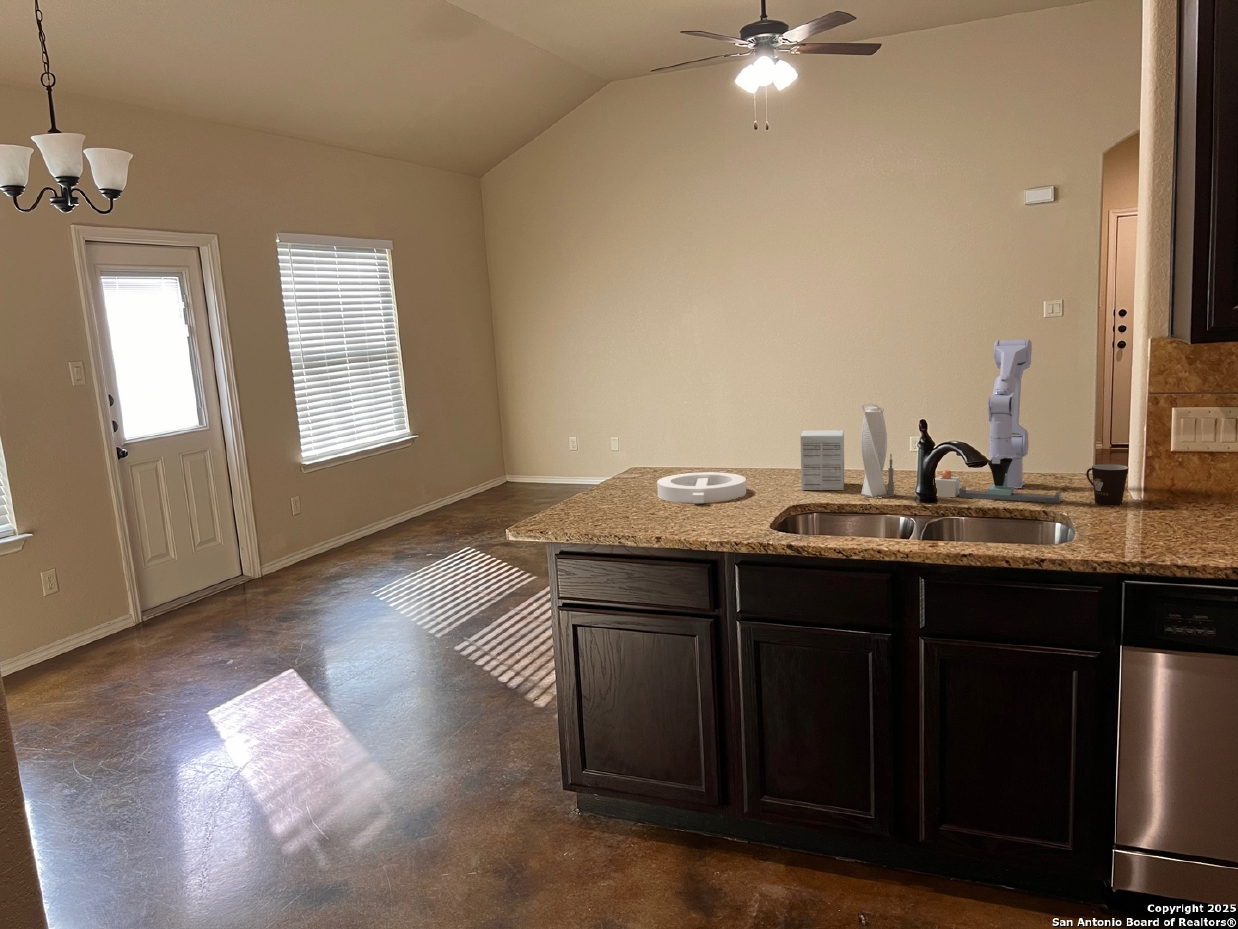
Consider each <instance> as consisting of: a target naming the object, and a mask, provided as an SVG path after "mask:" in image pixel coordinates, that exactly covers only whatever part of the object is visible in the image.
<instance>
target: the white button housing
mask: <svg viewBox="0 0 1238 929" xmlns="http://www.w3.org/2000/svg"><path fill="white" fill-rule="evenodd" d="M960 478H961V477H959V476H951V478H949V479H945V478H942V475H941V476H940V475H938V476H936V477H935V478H934V479H935V483H936V488H937V493H938V497H937V498H950V497H955V498H957V497H959V489H960V488H961V487H960Z"/></svg>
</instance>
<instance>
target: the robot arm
mask: <svg viewBox="0 0 1238 929" xmlns="http://www.w3.org/2000/svg"><path fill="white" fill-rule="evenodd" d="M993 345H994V346H993V357H994V361H995V365H996V366H997V369H1000V370H999V371H1000V372H999V375H998V376H997V377H996V378H995V380H994V382H993V383H994V384H993V389H992V394H991V396H989V397H988V399H987V400H988V402H987V411H988V421H989V452H988V456H989V457H990V458H991V459H990V460H989V459H988V460H987V465H988V466H989V468H990V471H991V475H992V481H993V485H995V486H1003V484H1004V479H1005V474H1008V482H1007V486H1013V487H1014V489H1018V488H1021V489H1023V487H1024V486H1025V485H1026V483H1027V482H1026V481H1023V470H1024V468H1023V466H1024V464H1023V463H1024V462H1023V460H1024V459H1023V458H1024V457H1026V456H1027V455H1028V453H1029V442H1030V441H1029V432H1028V430H1026V429H1025V428H1024V427H1023V426H1022V425H1020V410H1021V409H1020V407H1021V391H1022V378H1023V374H1024V371H1025V370H1028V369H1029V368H1030V367H1031V365H1032V364H1031V363H1032V351H1033V349H1032V347H1033V346H1032V345H1033V344H1032V340H1030V338H1027V339H1010V340H1009V339H1008V340H1007V339H1002V340H1000V339H997V340H996V341H995V342H994V344H993ZM1023 485H1024V486H1023ZM1022 486H1023V487H1022Z"/></svg>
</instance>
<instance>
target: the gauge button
mask: <svg viewBox="0 0 1238 929" xmlns="http://www.w3.org/2000/svg"><path fill="white" fill-rule="evenodd" d="M941 474H942V475H941V476H942V478H945V479H949V478H951V477H952V471H951V470H949V469H947V470H944V469H943V470H942V473H941Z"/></svg>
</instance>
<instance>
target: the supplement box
mask: <svg viewBox="0 0 1238 929" xmlns="http://www.w3.org/2000/svg"><path fill="white" fill-rule="evenodd" d="M799 440H800V475H801V476H800V481H801V482H800V483H801V484H800V485H801V486H800V487H801V488H800V491H804V490H843V491H844V488H845V430H844V429H830V430H829V429H828V430H827V429H825V430H823V429H822V430H820V429H819V430H814V429H813V430H803V431H802V432H801V435H800V439H799Z"/></svg>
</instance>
